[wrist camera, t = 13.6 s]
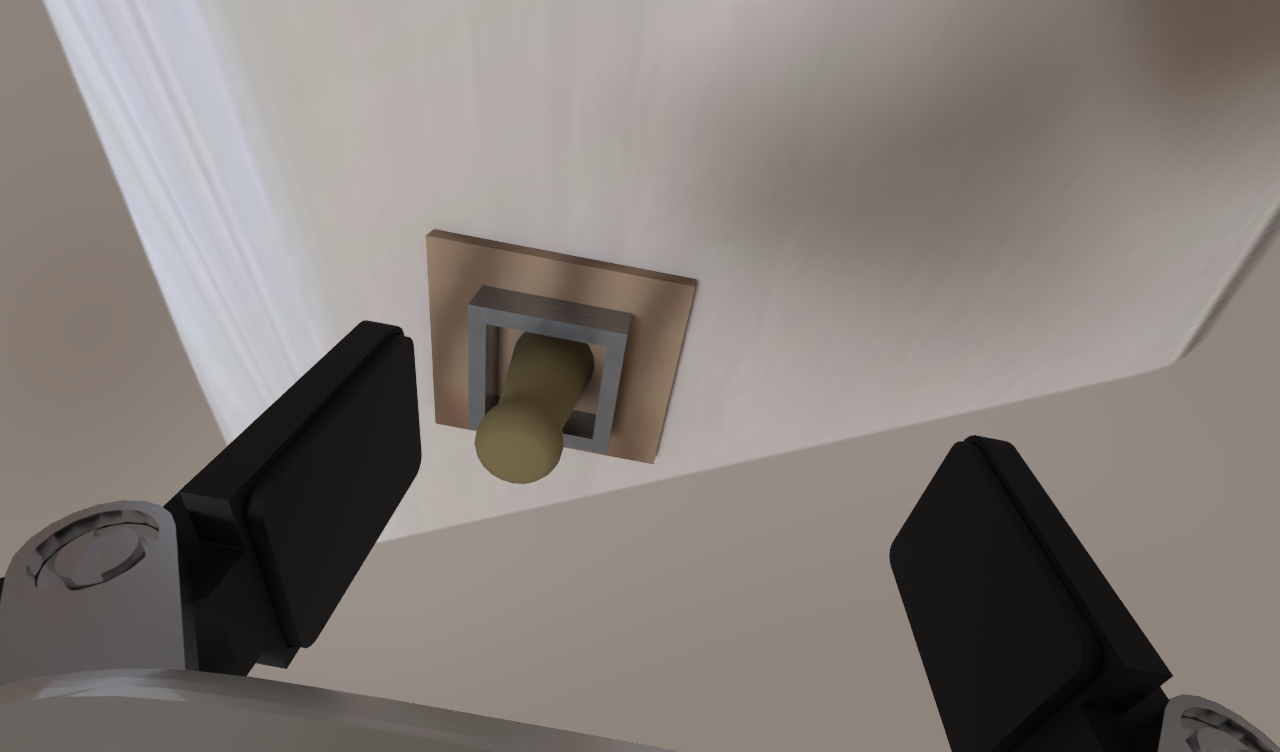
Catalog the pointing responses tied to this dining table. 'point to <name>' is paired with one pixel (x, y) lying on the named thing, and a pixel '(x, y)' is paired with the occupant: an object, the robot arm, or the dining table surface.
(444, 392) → the collar board
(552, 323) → the collar
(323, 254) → the dining table surface
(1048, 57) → the dining table surface
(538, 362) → the cork
